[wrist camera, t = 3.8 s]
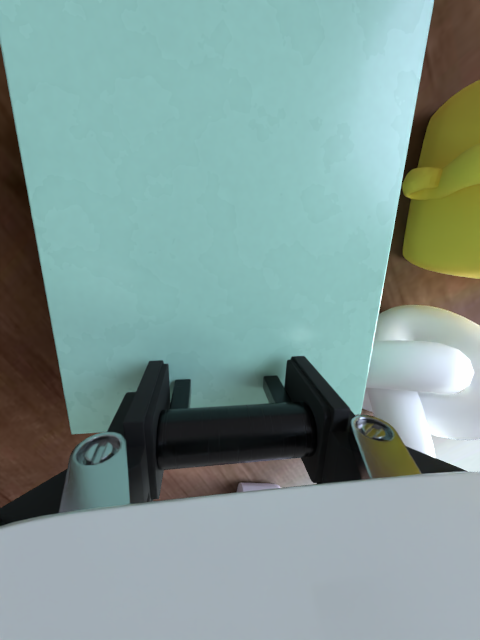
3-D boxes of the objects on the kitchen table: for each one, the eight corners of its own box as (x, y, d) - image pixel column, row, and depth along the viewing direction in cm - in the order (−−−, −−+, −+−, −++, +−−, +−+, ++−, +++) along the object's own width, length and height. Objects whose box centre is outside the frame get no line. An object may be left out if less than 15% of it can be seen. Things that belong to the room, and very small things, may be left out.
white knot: (426, 403, 26) (534, 482, 18) (310, 430, 25) (366, 528, 17) (435, 292, 23) (575, 325, 14) (301, 319, 22) (365, 371, 13)
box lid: (353, 406, 14) (427, 486, 10) (78, 423, 12) (2, 534, 8) (418, 12, 10) (624, -208, 5) (-4, -58, 8) (-324, -526, 3)
